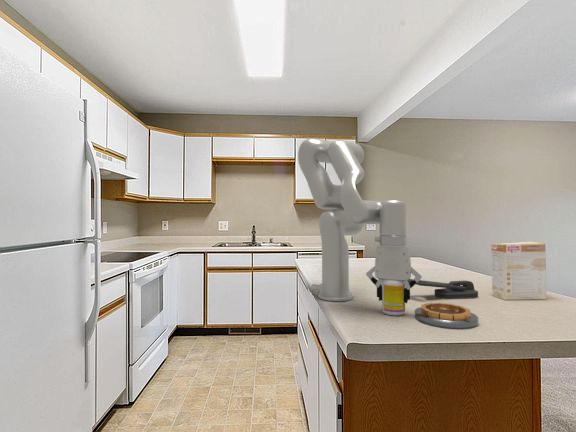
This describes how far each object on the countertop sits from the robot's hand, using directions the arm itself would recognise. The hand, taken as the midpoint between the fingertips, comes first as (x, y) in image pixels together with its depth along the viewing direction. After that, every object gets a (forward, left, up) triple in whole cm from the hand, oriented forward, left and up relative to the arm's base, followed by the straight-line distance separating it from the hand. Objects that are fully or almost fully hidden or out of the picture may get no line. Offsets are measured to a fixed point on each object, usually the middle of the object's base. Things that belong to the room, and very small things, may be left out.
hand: (393, 300), depth 97 cm
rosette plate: (+14, -1, -4) cm, 15 cm away
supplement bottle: (0, 0, -4) cm, 4 cm away
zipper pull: (+14, +27, -4) cm, 31 cm away
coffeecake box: (+39, +36, -4) cm, 53 cm away
